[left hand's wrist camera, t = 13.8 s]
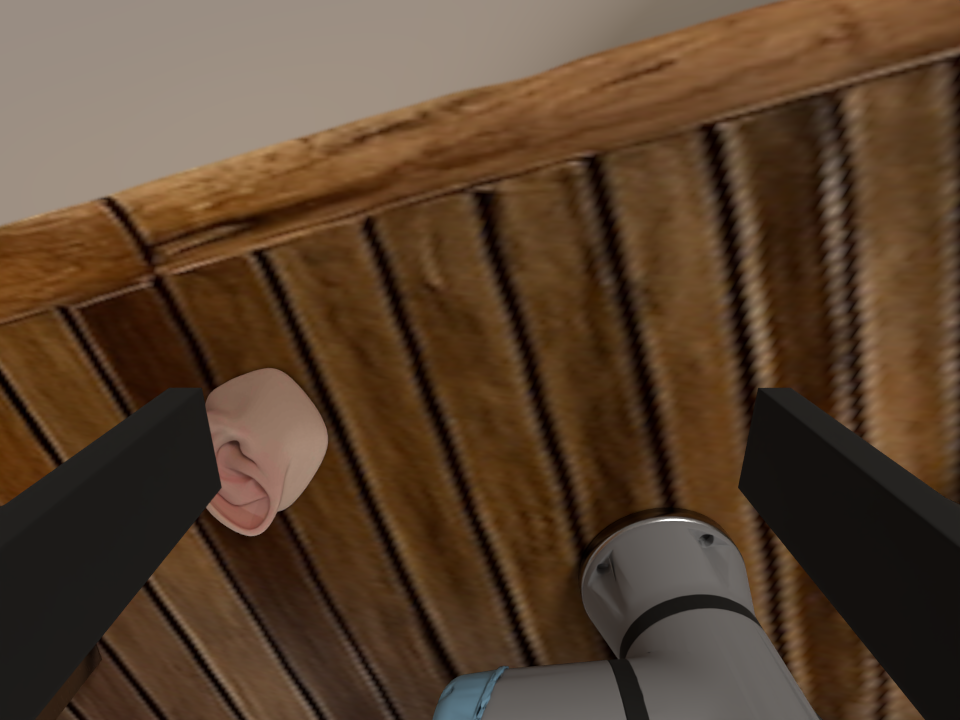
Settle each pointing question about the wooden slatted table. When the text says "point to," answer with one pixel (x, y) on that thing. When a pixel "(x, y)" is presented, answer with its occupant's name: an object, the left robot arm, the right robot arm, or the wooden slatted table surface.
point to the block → (71, 686)
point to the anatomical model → (262, 447)
